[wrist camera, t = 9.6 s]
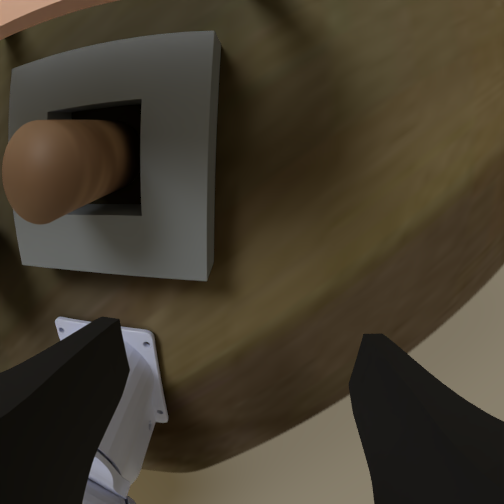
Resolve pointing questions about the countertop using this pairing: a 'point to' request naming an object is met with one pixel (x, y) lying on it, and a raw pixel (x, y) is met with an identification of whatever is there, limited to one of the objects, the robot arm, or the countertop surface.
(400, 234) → the countertop surface
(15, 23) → the orange bridge
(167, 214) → the socket
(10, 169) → the peg
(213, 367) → the countertop surface
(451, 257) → the countertop surface
